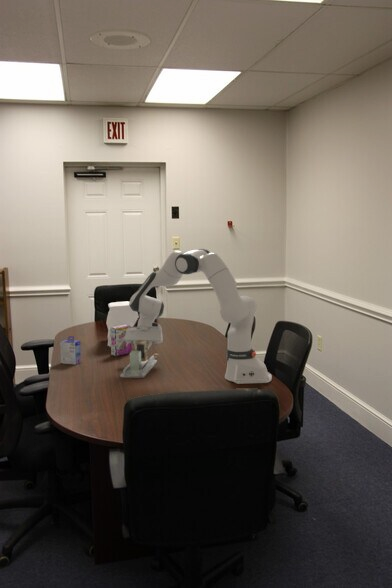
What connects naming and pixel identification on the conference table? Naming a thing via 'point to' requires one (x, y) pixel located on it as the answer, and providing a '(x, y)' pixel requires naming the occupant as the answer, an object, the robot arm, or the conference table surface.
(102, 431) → the conference table surface
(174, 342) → the conference table surface
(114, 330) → the candy bar box
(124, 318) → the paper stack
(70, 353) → the ink cartridge box
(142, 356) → the wooden block
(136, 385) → the conference table surface
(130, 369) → the rail
